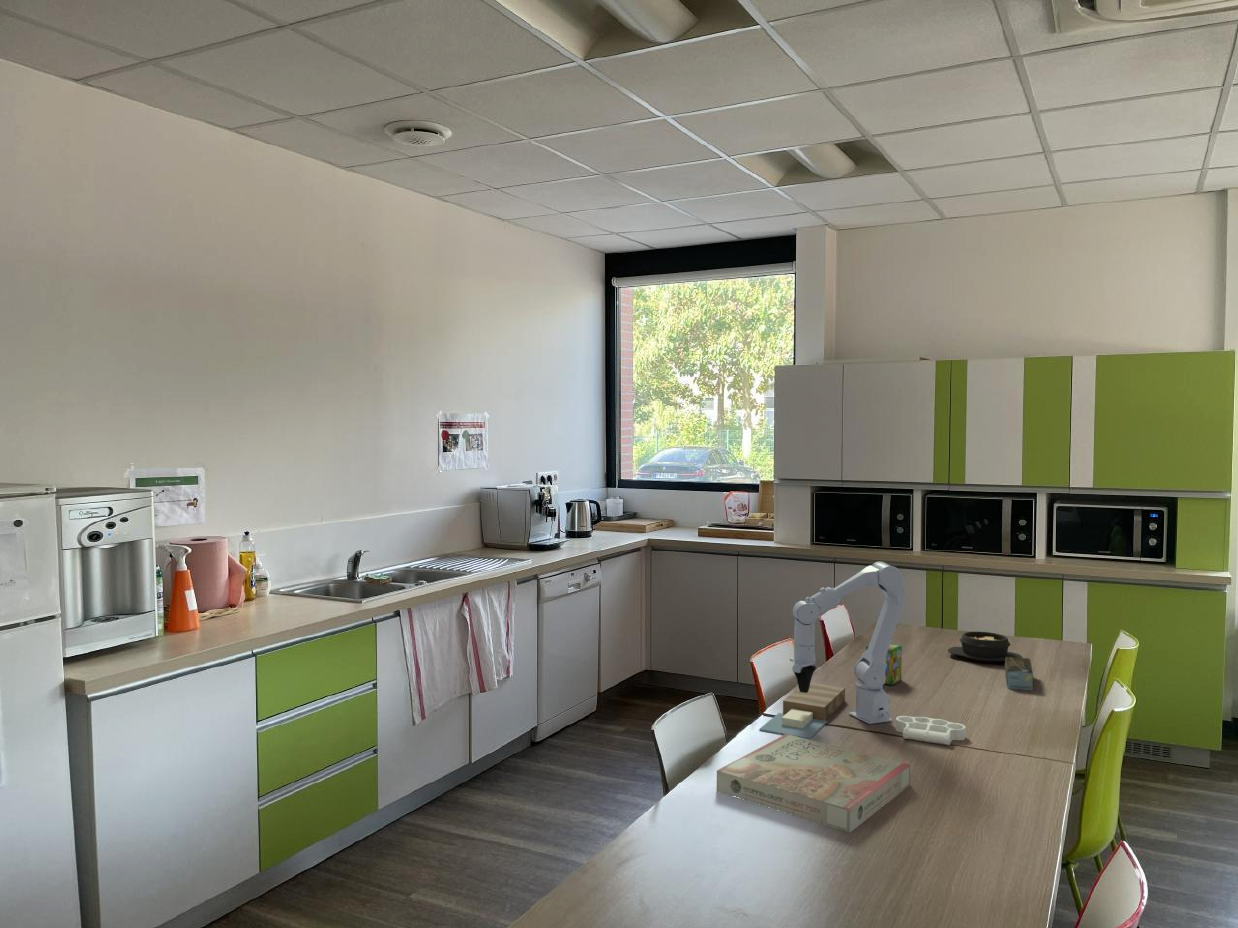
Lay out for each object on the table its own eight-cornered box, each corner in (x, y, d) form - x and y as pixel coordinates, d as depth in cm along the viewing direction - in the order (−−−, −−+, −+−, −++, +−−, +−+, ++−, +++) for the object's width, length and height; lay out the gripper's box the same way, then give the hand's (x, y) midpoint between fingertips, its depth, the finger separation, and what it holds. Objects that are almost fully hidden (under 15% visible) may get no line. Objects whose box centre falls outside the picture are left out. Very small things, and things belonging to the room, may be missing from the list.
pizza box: (850, 809, 183) (716, 770, 203) (849, 835, 183) (716, 793, 203) (910, 764, 208) (786, 733, 228) (909, 787, 208) (785, 754, 228)
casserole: (943, 660, 321) (944, 637, 321) (951, 649, 338) (951, 627, 337) (1020, 669, 310) (1021, 645, 309) (1024, 657, 326) (1024, 634, 326)
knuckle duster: (890, 739, 240) (899, 723, 253) (962, 750, 232) (967, 733, 245) (890, 727, 240) (899, 711, 253) (962, 737, 232) (967, 721, 245)
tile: (791, 715, 256) (792, 708, 256) (812, 719, 253) (812, 712, 253) (781, 724, 248) (781, 717, 248) (802, 728, 245) (802, 720, 245)
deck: (806, 694, 278) (806, 681, 278) (845, 700, 272) (845, 687, 272) (782, 714, 259) (783, 700, 258) (824, 721, 253) (824, 707, 253)
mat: (778, 714, 259) (778, 712, 259) (826, 722, 252) (826, 720, 252) (759, 730, 245) (759, 728, 245) (809, 739, 238) (809, 737, 238)
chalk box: (892, 686, 288) (893, 640, 288) (864, 681, 294) (865, 635, 293) (902, 679, 296) (903, 635, 295) (875, 675, 301) (876, 631, 301)
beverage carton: (1005, 688, 287) (1006, 668, 287) (1004, 674, 305) (1004, 654, 304) (1033, 691, 284) (1033, 671, 284) (1030, 676, 302) (1030, 657, 301)
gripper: (798, 637, 263) (798, 683, 264) (782, 647, 251) (782, 696, 251) (822, 640, 260) (821, 686, 260) (807, 651, 247) (806, 700, 248)
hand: (803, 691), depth 255 cm, fingers closed
